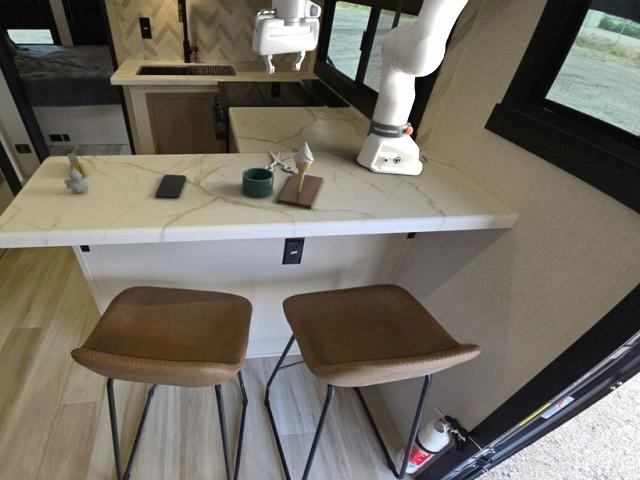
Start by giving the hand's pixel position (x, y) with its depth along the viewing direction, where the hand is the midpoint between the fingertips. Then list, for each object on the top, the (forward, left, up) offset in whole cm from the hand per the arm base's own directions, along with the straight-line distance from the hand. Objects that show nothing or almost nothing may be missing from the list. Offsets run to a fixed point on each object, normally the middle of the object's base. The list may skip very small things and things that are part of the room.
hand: (283, 71), depth 97 cm
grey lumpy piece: (+52, +37, -29) cm, 70 cm away
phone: (+27, +24, -29) cm, 46 cm away
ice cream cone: (-12, +14, -28) cm, 34 cm away
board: (-12, +11, -29) cm, 33 cm away
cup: (+1, +16, -29) cm, 33 cm away
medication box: (+62, +25, -29) cm, 73 cm away
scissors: (+1, -8, -29) cm, 30 cm away
